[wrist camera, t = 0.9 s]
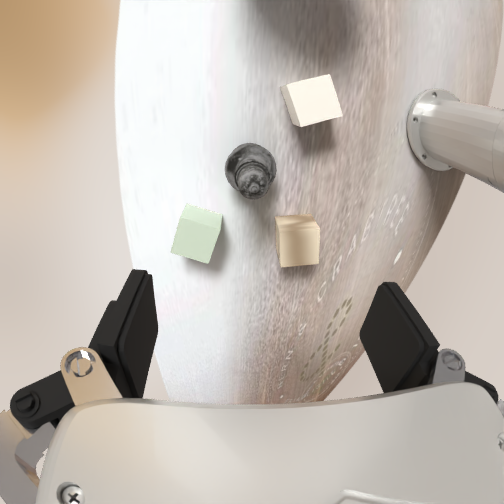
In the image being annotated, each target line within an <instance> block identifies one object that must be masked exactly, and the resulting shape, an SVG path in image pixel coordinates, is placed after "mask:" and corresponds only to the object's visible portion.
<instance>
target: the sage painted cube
mask: <svg viewBox="0 0 504 504" xmlns="http://www.w3.org/2000/svg"><path fill="white" fill-rule="evenodd" d="M221 222H222V214H219V213H216V212H213V211H210V210H207V209H203V208H200V207H197V206H194V205H191V204H186V206H185V208H184V210H183V213H182V215H181V217H180V220H179V223H178V227H177V231H176V234H175V238H174V242H173V245H172V249H171V253H174V254H177V255H180V256H184V257H187V258H190V259H193V260H197V261H200V262H203V263H207V264H209V261H210V258H211V255H212V252H213V249H214V247H215V244H216V241H217V238H218V235H219V233H220V230H221Z"/></svg>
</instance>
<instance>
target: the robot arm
mask: <svg viewBox="0 0 504 504" xmlns="http://www.w3.org/2000/svg"><path fill="white" fill-rule="evenodd" d="M407 132H408V138H409V142H410V145H411V148H412V150H413V152H414V154H415V155H416V157H417V158H418V159H419V160H420V161H421V163H423V164H424V165H425V166H427V167H429V168H431V169H433V170H437V171H446V170H450V169H452V168H456V169H458V170H460V171H462V172H464V173H466V174H469V175H471V176H473V177H475V178H477V179H479V180H481V181H483V182H485V183H487V184H488V185H490V186H492V187H494V188H496V189H498V190H500V191H502V192H503V193H504V109H499V108H495V107H490V106H484V105H479V104H473V103H467V102H460V100H459V99H458V98H457V97H456V96H455V95H453V94H452V93H450V92H449V91H446V90H443V89H429V90H426V91H424V92H423V93H421V94H420V95H419V96H418V97H417V98H416V99H415V100H414V102H413V104H412V105H411V108H410V111H409V115H408V120H407ZM157 335H158V321H157V314H156V306H155V298H154V289H153V279H152V275H151V274H148V273H147V271H146V270H135V269H133V270H132V271H131V273H130V275H129V277H128V279H127V281H126V283H125V285H124V287H123V289H122V291H121V293H120V295H119V297H118V299H117V301H111V302H110V303H109V305H108V306H107V308H106V311H105V312H104V314H103V317H102V319H101V321H100V323H99V325H98V327H97V329H96V331H95V334H94V336H93V338H92V340H91V342H90V345H89V347H88V348H86V347H79V348H75V349H72V350H70V351H69V352H67V354H65V356H64V357H63V359H62V360H61V365H60V366H61V370H60V371H58V372H56V373H54V374H52V375H50V376H48V377H46V378H44V379H41V380H39V381H37V382H35V383H33V384H31V385H28V386H26V387H24V388H22V389H20V390H18V391H17V392H16V393H15V394H14V395H13V397H12V399H11V402H10V410H8V411H7V412H6V411H5V410H3V411H2V412H1V413H0V496H1V497H2V499H3V500H4V501H5V503H6V504H504V401H502V400H501V399H500V400H499V401H498V394H497V391H496V389H495V387H494V386H493V385H491V384H490V383H488V382H486V381H484V380H482V379H480V378H478V377H476V376H474V375H472V374H470V373H468V372H466V371H465V362H464V360H463V358H462V357H461V355H459V354H458V353H457V352H456V351H454V350H451V349H442V350H441V351H440V352H438V350H437V349H438V347H439V346H440V344H439V343H438V341H437V340H436V338H435V337H434V335H433V334H432V332H431V331H430V329H429V328H428V326H427V325H426V323H425V322H424V320H423V319H422V317H421V316H420V315H419V313H418V312H417V310H416V309H415V308H414V306H413V305H412V303H411V302H410V301H409V299H408V298H407V296H406V295H405V294H404V292H403V291H402V290H401V288H400V287H399V286H398V284H397V283H395V282H383V283H382V284H381V285H380V286H379V287H378V289H377V291H376V294H375V296H374V299H373V301H372V304H371V306H370V309H369V311H368V314H367V316H366V318H365V321H364V323H363V325H362V328H361V330H360V339H361V342H362V344H363V346H364V348H365V350H366V352H367V355H368V357H369V359H370V362H371V364H372V366H373V369H374V371H375V373H376V376H377V378H378V380H379V383H380V385H381V387H382V390H383V392H384V393H383V394H377V395H370V396H363V397H356V398H348V399H340V400H330V401H319V402H306V403H288V404H212V403H193V402H179V401H167V400H154V399H142V397H143V394H144V388H145V384H146V380H147V375H148V371H149V367H150V363H151V358H152V354H153V350H154V346H155V342H156V338H157ZM47 448H48V451H47V454H46V457H45V461H44V465H43V468H42V473H41V477H40V479H39V478H38V476H37V474H36V464H37V462H38V461H39V459H40V458H41V457H42V456H43V455H44V454H43V451H45V450H46V449H47Z"/></svg>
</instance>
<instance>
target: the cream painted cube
mask: <svg viewBox="0 0 504 504" xmlns="http://www.w3.org/2000/svg"><path fill="white" fill-rule="evenodd" d="M280 89H281V91H282V94H283V97H284V100H285V103H286V106H287V108H288V111H289V114H290V117H291V120H292V123H293V124H294V125H297V126H299V127H303V126H307V125H310V124H314V123H318V122H321V121H325V120H329V119H333V118H337V117H341V116H343V115H342V111H341V108H340V105H339V101H338V98H337V95H336V91H335V88H334V85H333V82H332V79H331V76H330V74H328V75H324V76H319V77H315V78H310V79H306V80H302V81H298V82H294V83H290V84H287V85H284V86H282V87H280Z"/></svg>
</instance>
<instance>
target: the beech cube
mask: <svg viewBox="0 0 504 504" xmlns="http://www.w3.org/2000/svg"><path fill="white" fill-rule="evenodd" d="M275 230H276V250H277V254H278V258H279V262H280V266H281V267H291V266H301V265H312V264H319V245H320V228H319V226H318V225H317V223H316V221H315V220H314V218H313V216H312V215H311V214H303V215H290V216H277V217H275Z"/></svg>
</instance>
